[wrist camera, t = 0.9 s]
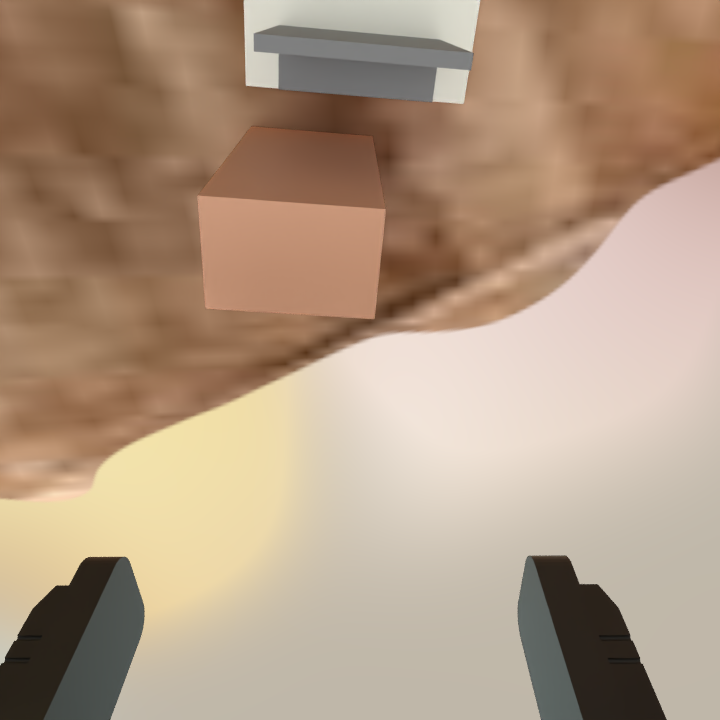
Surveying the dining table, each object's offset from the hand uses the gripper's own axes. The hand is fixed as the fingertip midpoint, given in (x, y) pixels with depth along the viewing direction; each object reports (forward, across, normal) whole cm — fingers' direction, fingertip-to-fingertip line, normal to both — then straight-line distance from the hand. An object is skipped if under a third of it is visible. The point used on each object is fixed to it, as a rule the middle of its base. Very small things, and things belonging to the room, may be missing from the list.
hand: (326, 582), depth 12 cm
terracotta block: (+23, +2, -3) cm, 23 cm away
